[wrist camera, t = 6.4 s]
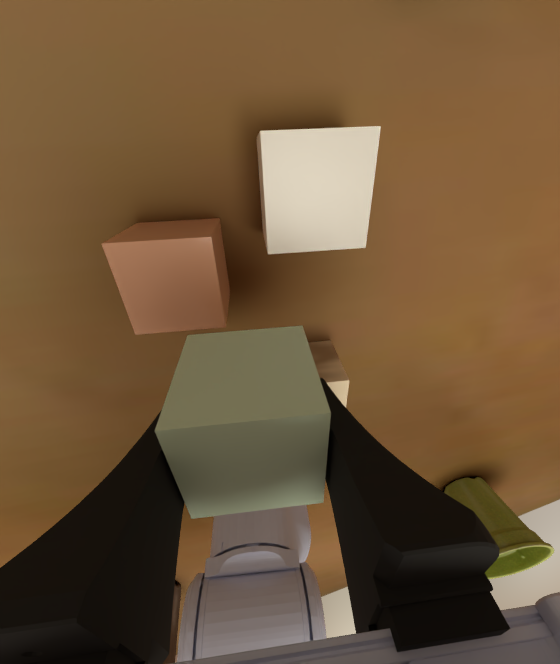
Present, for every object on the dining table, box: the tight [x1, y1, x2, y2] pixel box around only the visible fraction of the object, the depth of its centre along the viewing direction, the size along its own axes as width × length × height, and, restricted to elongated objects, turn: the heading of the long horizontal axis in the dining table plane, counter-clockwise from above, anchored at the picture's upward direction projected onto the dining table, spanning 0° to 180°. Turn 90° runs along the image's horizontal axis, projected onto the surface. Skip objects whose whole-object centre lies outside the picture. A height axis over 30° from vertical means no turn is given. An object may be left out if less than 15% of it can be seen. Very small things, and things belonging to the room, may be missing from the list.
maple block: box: [308, 340, 349, 407], centre depth 22 cm, size 5×5×5 cm
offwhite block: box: [256, 126, 381, 254], centre depth 15 cm, size 5×5×5 cm
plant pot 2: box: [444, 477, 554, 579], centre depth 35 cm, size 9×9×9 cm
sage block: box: [155, 326, 331, 519], centre depth 11 cm, size 5×5×5 cm
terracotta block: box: [102, 218, 230, 335], centre depth 16 cm, size 5×5×5 cm
